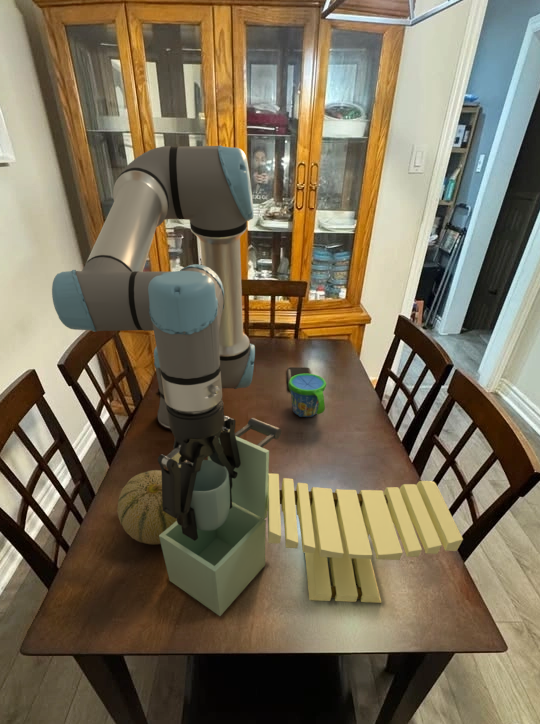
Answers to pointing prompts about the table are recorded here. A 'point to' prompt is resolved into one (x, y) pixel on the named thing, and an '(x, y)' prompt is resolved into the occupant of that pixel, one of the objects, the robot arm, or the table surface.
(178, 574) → the green box
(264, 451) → the pale green box lid
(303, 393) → the snack cup
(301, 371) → the phone
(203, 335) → the robot arm
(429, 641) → the table surface
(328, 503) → the slatted curved stool
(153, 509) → the cantaloupe
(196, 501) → the cup
